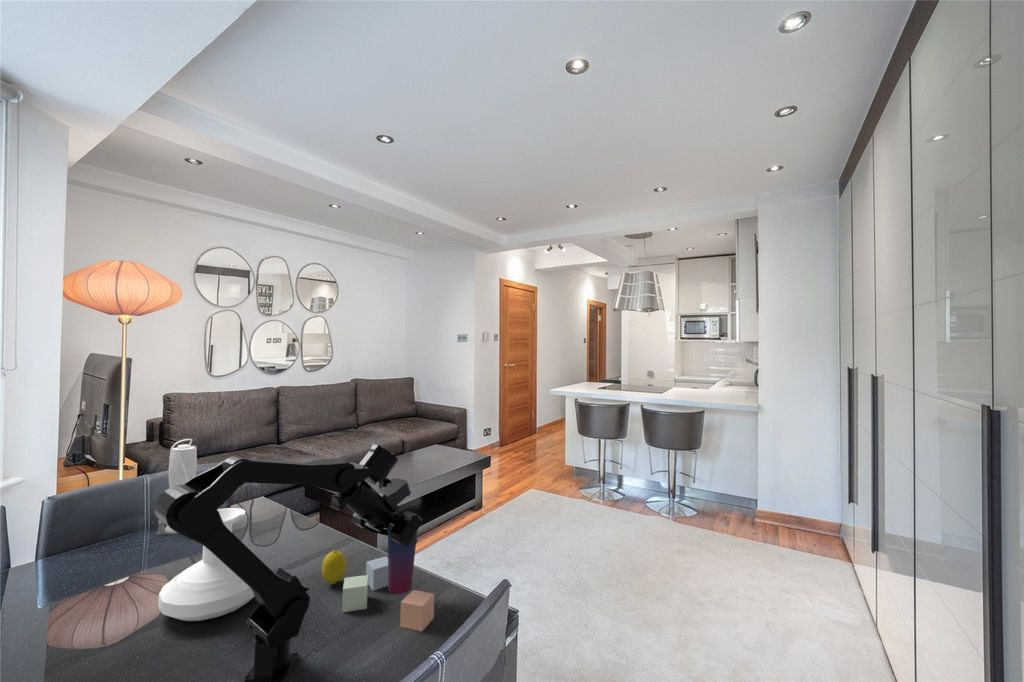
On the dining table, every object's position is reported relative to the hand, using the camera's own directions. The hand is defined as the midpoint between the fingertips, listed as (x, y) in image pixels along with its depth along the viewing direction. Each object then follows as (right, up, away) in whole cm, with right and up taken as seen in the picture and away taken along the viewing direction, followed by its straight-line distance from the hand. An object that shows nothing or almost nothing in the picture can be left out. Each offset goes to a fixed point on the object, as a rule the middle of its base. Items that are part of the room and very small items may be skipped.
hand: (407, 539), depth 99 cm
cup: (-1, -10, -2) cm, 11 cm away
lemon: (-19, -14, +6) cm, 24 cm away
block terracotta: (+4, -13, -9) cm, 17 cm away
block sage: (-11, -13, -3) cm, 17 cm away
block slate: (-8, -14, +6) cm, 17 cm away
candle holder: (-42, -13, -3) cm, 44 cm away
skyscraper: (-83, -15, +39) cm, 93 cm away
